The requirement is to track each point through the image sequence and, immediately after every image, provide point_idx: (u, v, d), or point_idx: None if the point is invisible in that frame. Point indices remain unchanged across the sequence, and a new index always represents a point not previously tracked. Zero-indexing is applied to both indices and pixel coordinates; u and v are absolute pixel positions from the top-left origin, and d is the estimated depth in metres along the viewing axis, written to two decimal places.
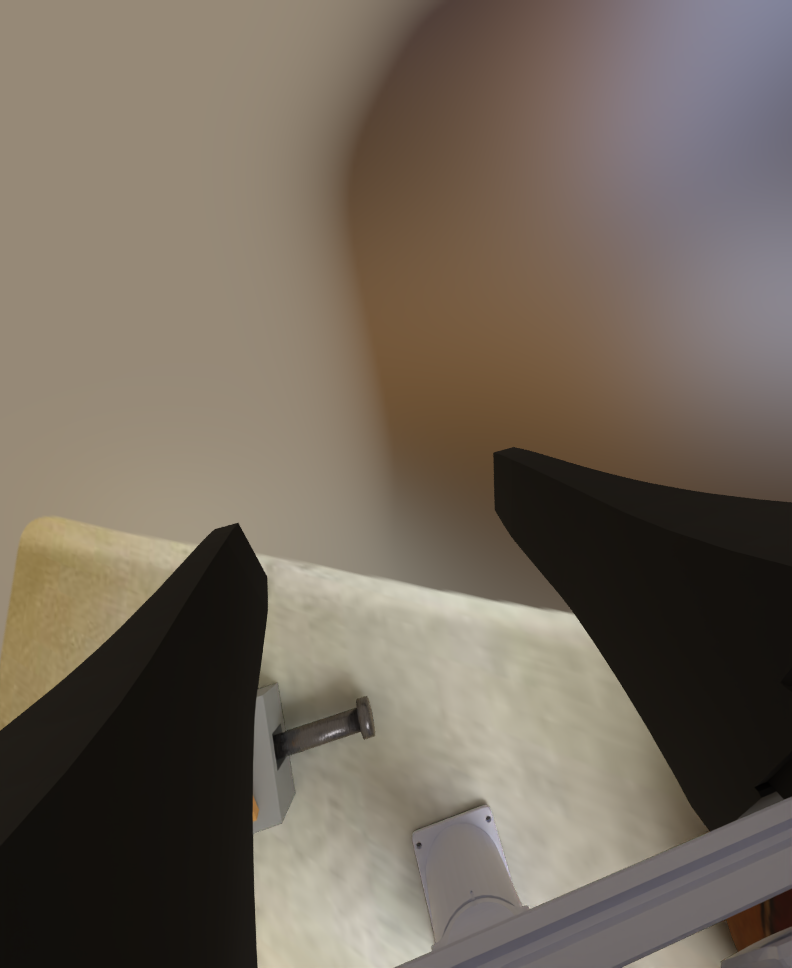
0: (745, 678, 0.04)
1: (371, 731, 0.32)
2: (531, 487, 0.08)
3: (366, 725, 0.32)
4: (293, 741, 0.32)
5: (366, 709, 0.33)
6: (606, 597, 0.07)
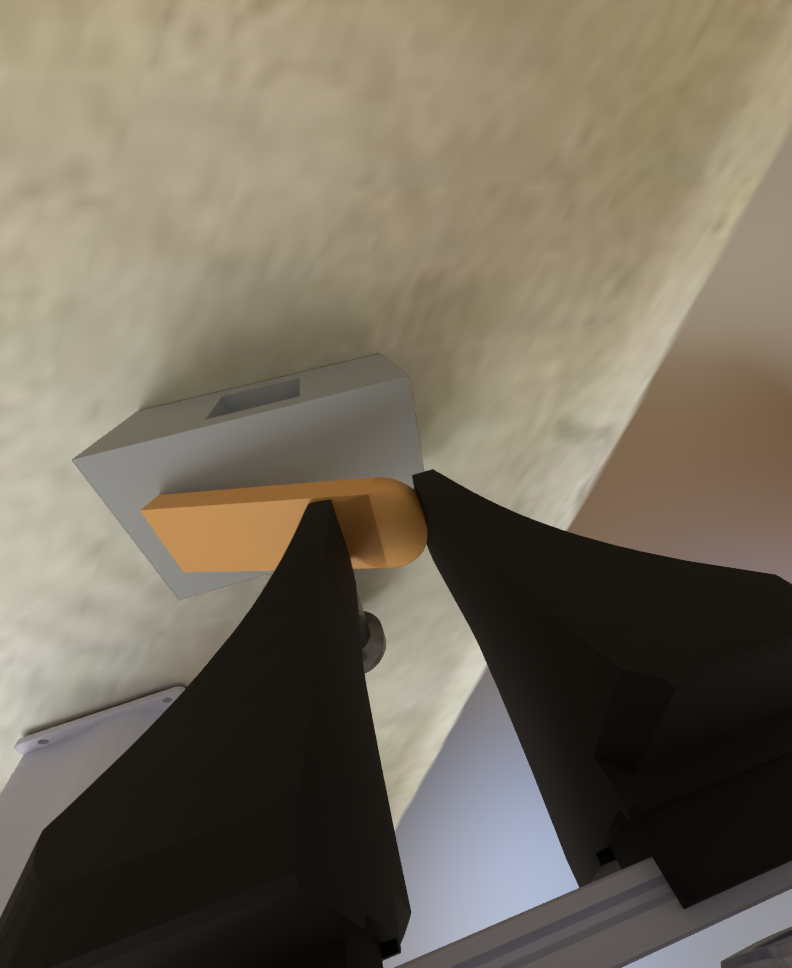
0: (575, 743, 0.04)
1: None
2: (436, 515, 0.08)
3: None
4: None
5: (377, 662, 0.19)
6: (492, 635, 0.06)
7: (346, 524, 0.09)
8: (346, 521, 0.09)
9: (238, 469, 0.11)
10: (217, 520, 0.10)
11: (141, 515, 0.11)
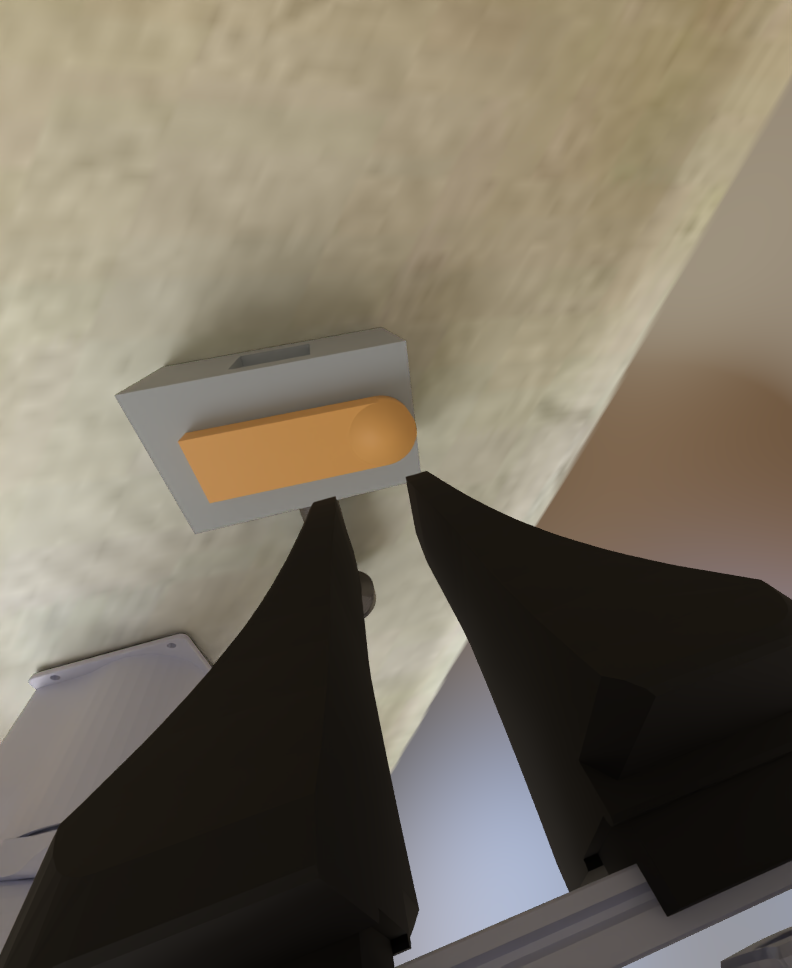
0: (561, 748, 0.04)
1: None
2: (428, 517, 0.08)
3: None
4: None
5: (367, 614, 0.21)
6: (483, 638, 0.06)
7: (360, 430, 0.13)
8: (360, 427, 0.13)
9: (254, 415, 0.13)
10: (253, 441, 0.12)
11: (168, 451, 0.13)
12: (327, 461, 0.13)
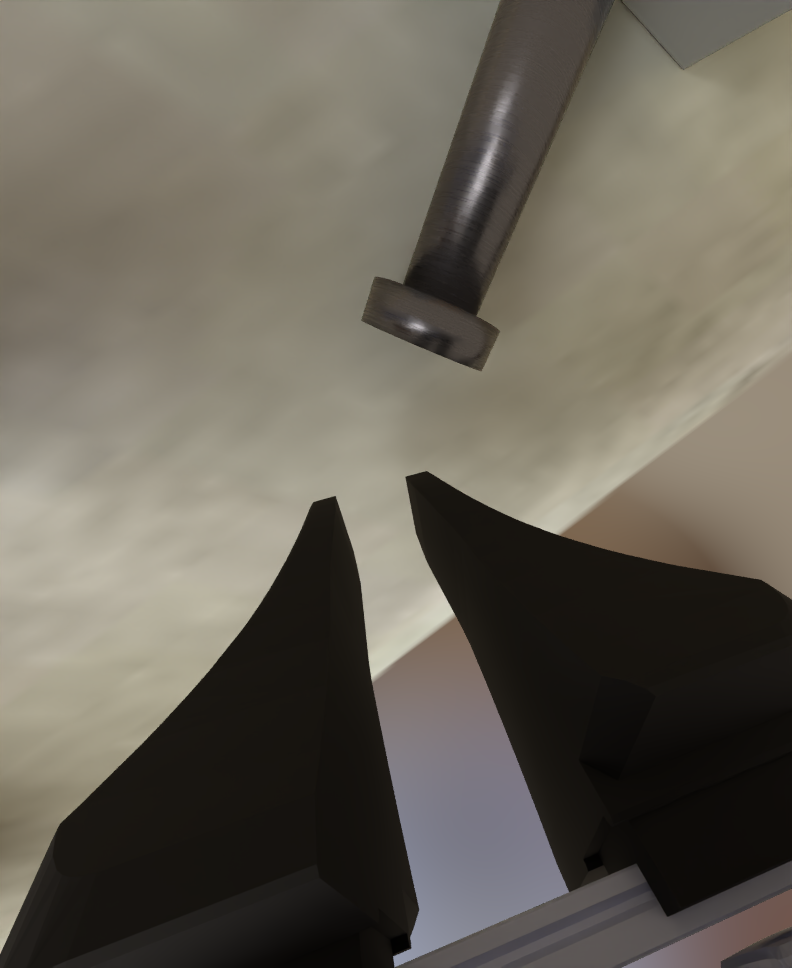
0: (561, 748, 0.04)
1: (407, 336, 0.08)
2: (428, 517, 0.08)
3: (442, 336, 0.07)
4: None
5: (476, 364, 0.08)
6: (483, 638, 0.06)
7: None
8: None
9: None
10: None
11: None
12: None
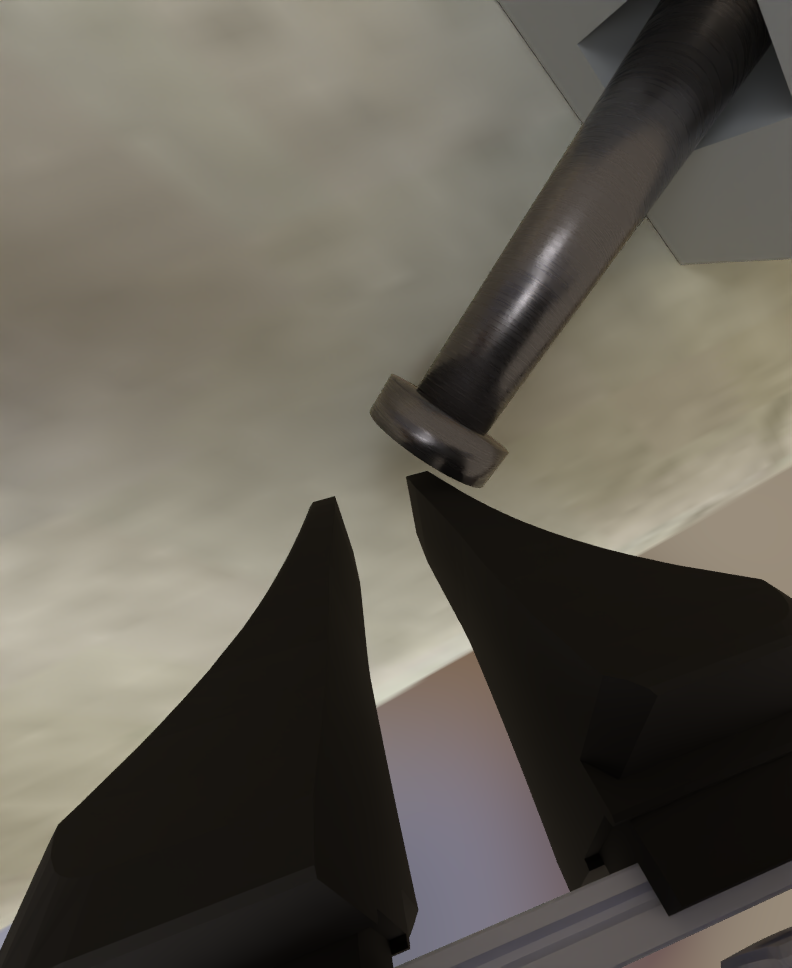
0: (562, 747, 0.04)
1: (417, 451, 0.07)
2: (429, 517, 0.08)
3: (453, 459, 0.07)
4: (702, 111, 0.06)
5: (480, 483, 0.08)
6: (484, 638, 0.06)
7: None
8: None
9: None
10: None
11: None
12: None
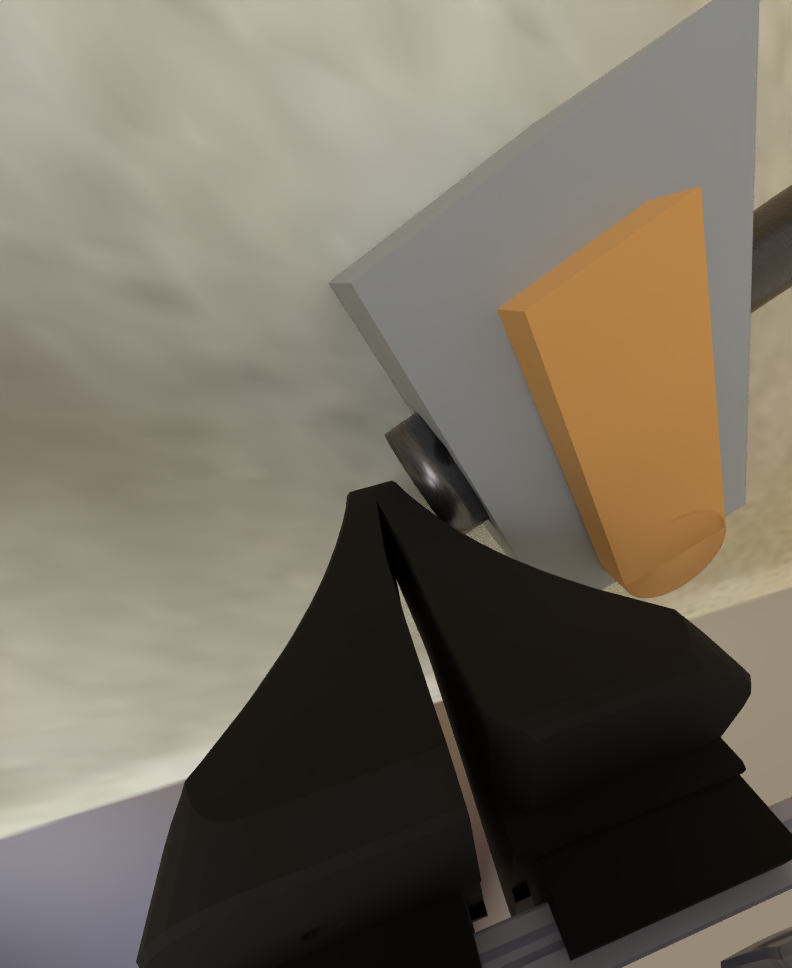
0: (483, 777, 0.04)
1: (423, 489, 0.08)
2: (387, 529, 0.08)
3: (451, 507, 0.08)
4: None
5: None
6: (433, 655, 0.06)
7: (685, 526, 0.08)
8: (690, 524, 0.08)
9: None
10: (683, 369, 0.06)
11: (604, 159, 0.05)
12: (633, 507, 0.07)
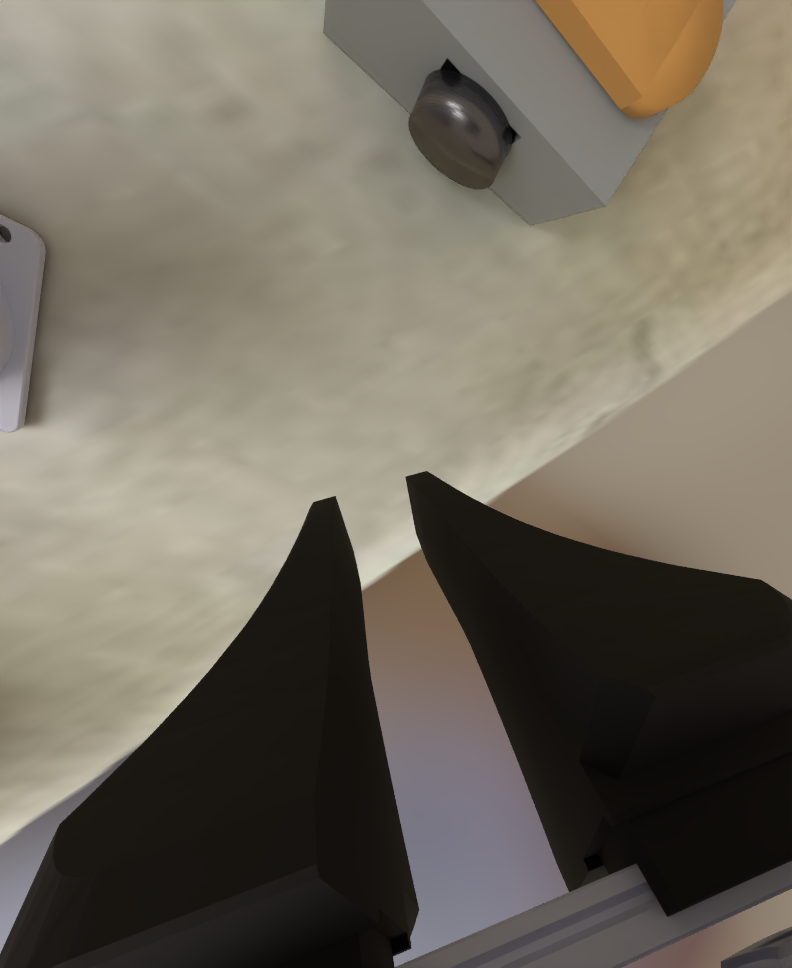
0: (561, 748, 0.04)
1: (447, 112, 0.10)
2: (428, 517, 0.08)
3: (473, 114, 0.10)
4: None
5: (492, 157, 0.11)
6: (483, 638, 0.06)
7: None
8: None
9: None
10: None
11: None
12: None
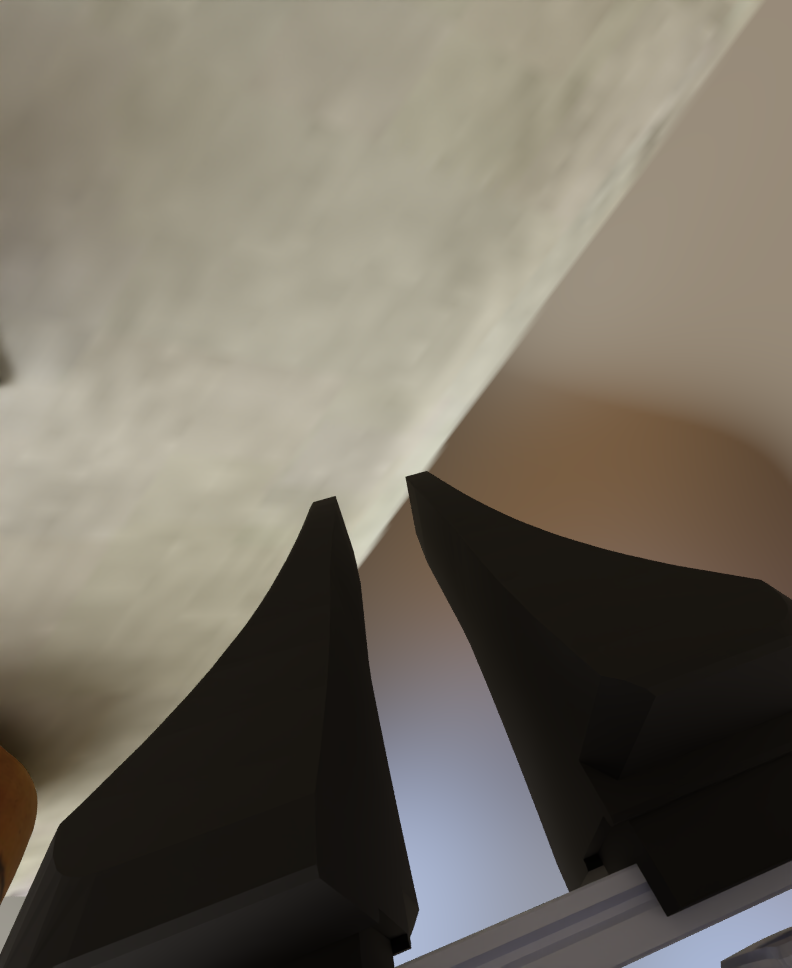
0: (561, 748, 0.04)
1: None
2: (428, 517, 0.08)
3: None
4: None
5: None
6: (483, 638, 0.06)
7: None
8: None
9: None
10: None
11: None
12: None
